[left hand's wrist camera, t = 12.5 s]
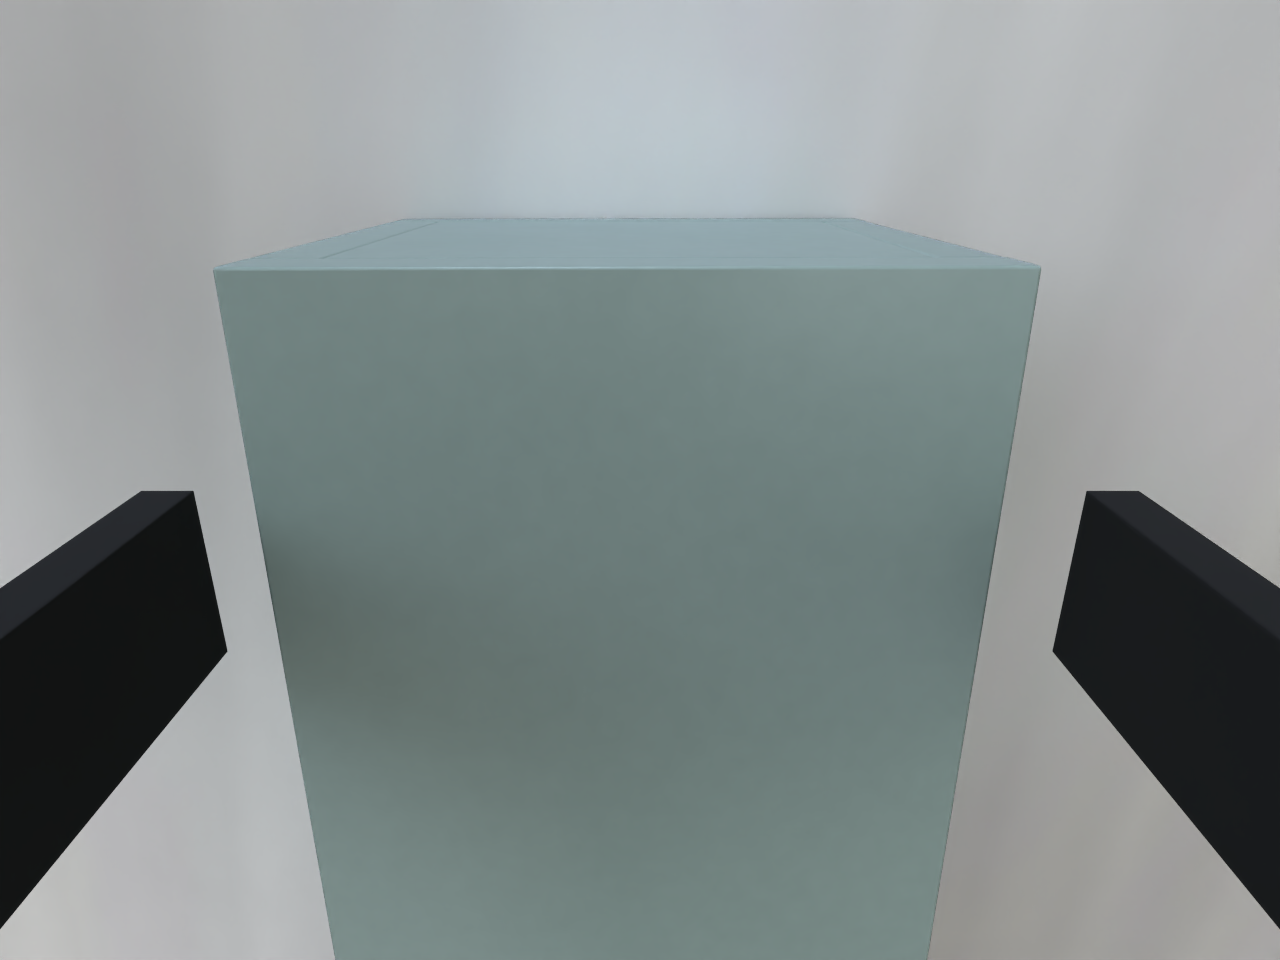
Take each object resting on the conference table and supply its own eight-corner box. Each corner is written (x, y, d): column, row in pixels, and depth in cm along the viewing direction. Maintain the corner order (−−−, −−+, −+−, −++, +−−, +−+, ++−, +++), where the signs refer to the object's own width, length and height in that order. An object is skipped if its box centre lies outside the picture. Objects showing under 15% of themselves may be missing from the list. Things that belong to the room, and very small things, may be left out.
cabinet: (797, 898, 28) (878, 1259, 18) (468, 901, 27) (388, 1265, 18) (856, 218, 20) (1043, 265, 11) (402, 219, 20) (210, 267, 11)
